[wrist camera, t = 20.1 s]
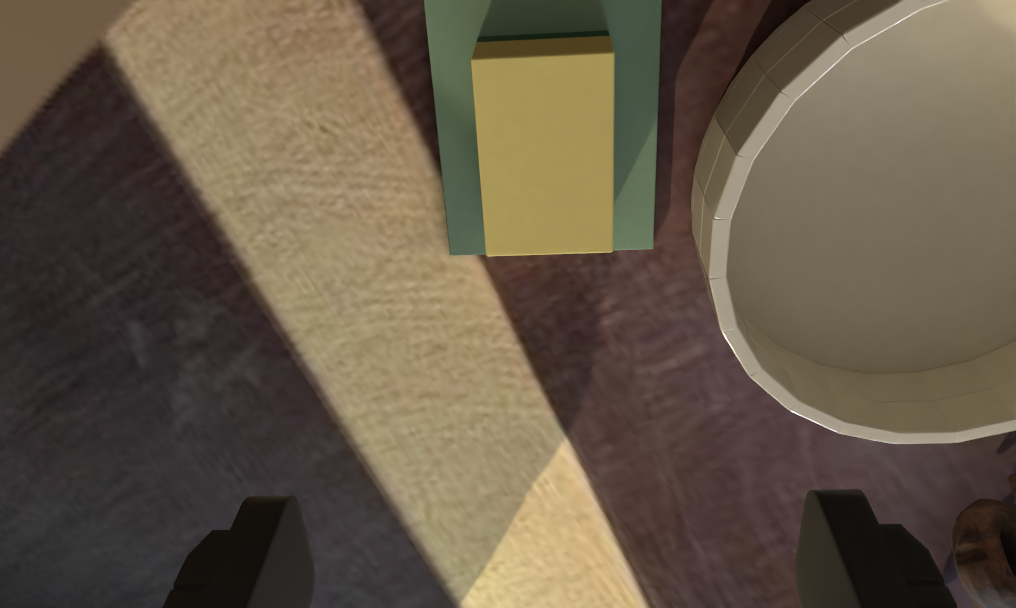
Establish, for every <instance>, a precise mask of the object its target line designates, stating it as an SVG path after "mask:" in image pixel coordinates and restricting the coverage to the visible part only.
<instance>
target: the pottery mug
mask: <svg viewBox="0 0 1016 608" xmlns="http://www.w3.org/2000/svg"><path fill="white" fill-rule="evenodd" d="M1008 481H1009V484H1010V486H1011V488H1012V490H1013V492H1014V501H1015V505H1016V474H1012V475H1010V476H1009V477H1008ZM952 550H953V557H954V562H955V567H956V571H957V574H958V577H959V579H960V581H961V583H962V585H963V587H964V589H965V592H966V594H967V595H968V596H969V598H970V599H971V601H972V602H973V604H974V605H975V607H976V608H1016V509H1015V508H1013V507H1012V506H1010V505H1008V504H1006V503H1003V502H1001V501H997V500H990V499H979V500H977V501H975V502H973V503H972V504H971V505H969V506H968V507H967V508H966V509H965V510H963V511H962V512H961V513H960V515H959V516H958V517H957V519H956V524H955V526H954V529H953V535H952Z"/></svg>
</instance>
